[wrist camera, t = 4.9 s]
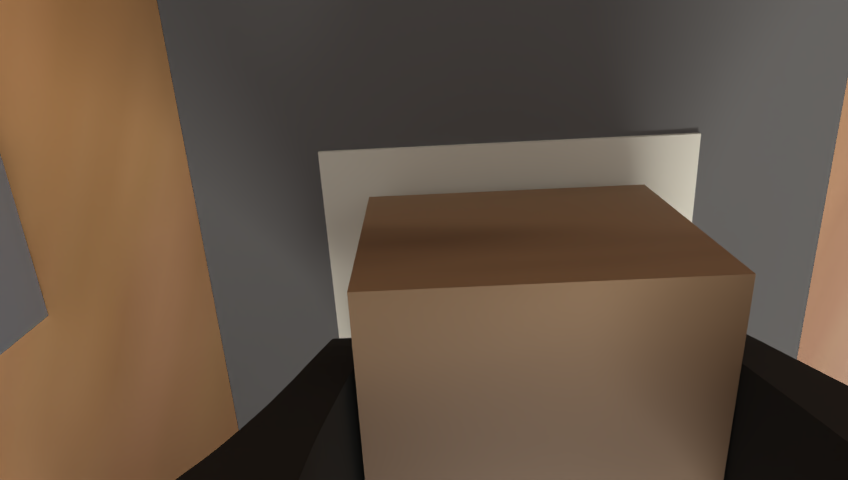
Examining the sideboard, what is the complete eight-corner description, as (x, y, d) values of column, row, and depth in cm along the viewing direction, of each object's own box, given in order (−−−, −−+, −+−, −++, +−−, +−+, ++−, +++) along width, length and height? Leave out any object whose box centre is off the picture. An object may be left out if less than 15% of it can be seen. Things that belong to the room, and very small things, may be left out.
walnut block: (625, 414, 13) (708, 578, 9) (386, 425, 13) (376, 592, 9) (644, 184, 11) (756, 273, 8) (369, 197, 11) (347, 292, 8)
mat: (748, 541, 16) (762, 565, 15) (272, 553, 16) (265, 577, 15) (854, -86, 11) (881, -91, 10) (162, -44, 11) (145, -46, 11)
